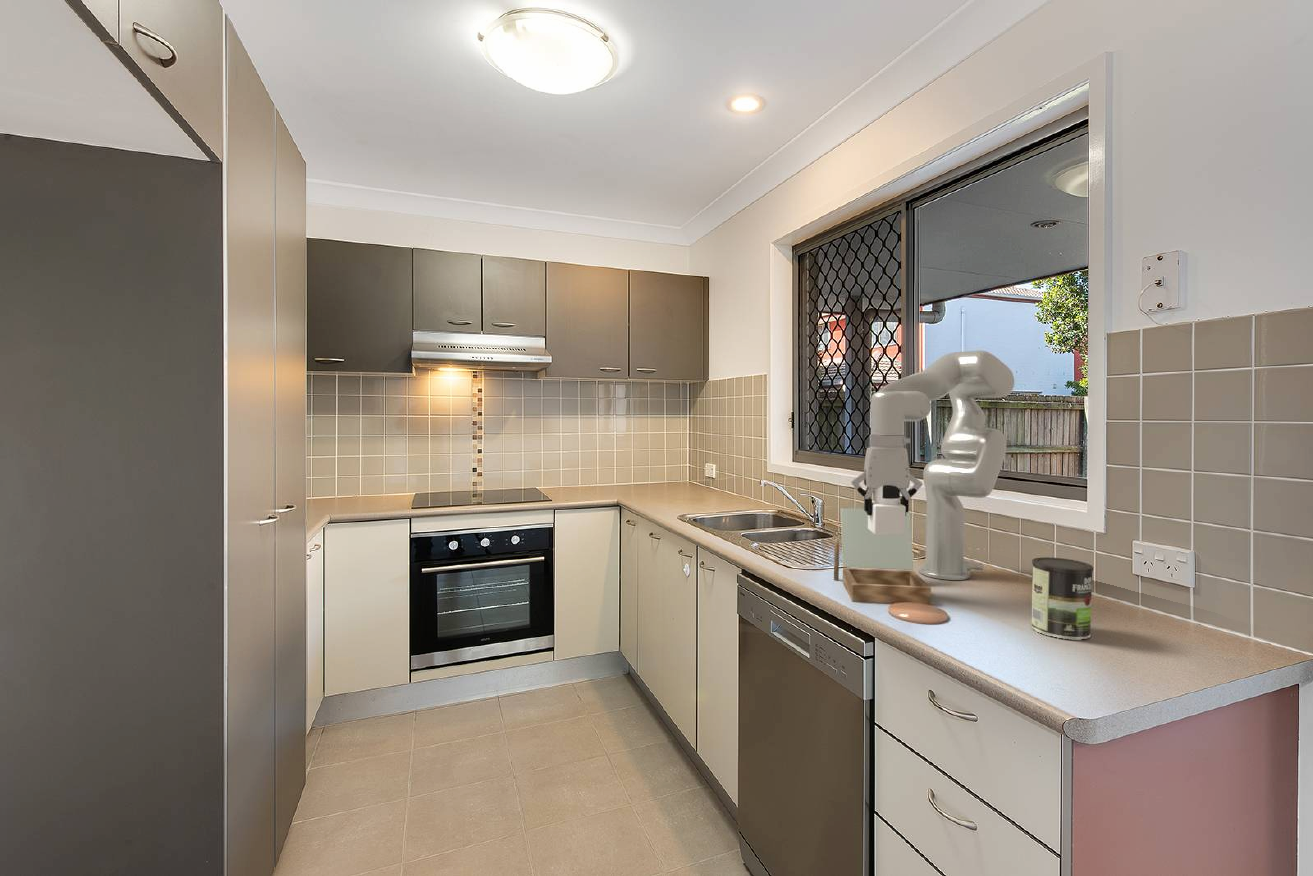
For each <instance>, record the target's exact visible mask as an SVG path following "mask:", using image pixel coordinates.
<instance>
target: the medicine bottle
mask: <svg viewBox="0 0 1313 876" xmlns="http://www.w3.org/2000/svg"><path fill="white" fill-rule="evenodd" d="M900 495H901V493H900V490H899V489H898V487H896V486H892V485H885V486H880V487H879V488H878V489H875V490H874V491H873V493H872V497H873V498H872V499H873V500H872V515H868V529H869V530H870V531H871V532H872V533H873V534H875V535H905V509H906V507H905V506H904V505H902V504H900V499H901V497H900Z"/></svg>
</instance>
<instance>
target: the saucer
mask: <svg viewBox="0 0 1313 876" xmlns="http://www.w3.org/2000/svg"><path fill="white" fill-rule="evenodd" d="M888 614H889V615H890V614H891V615H890V616H891V617H894V618H895V619H898V620H900V619H901V620H900V621H904V622H908V623H912V624H913V623H914V624H920V623H921V624H920V625H937V624H938V623H939V624H942V623H945V622H947V621H948V618H949V614H948V612H947V611H946V610H944V609H942V608H940V607H937V606H935V605H926V604H921V603H910V602H903V603H891V604H890V605H889V606H888ZM939 624H938V625H939Z"/></svg>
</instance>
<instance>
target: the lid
mask: <svg viewBox="0 0 1313 876" xmlns="http://www.w3.org/2000/svg"><path fill="white" fill-rule="evenodd" d="M910 511H911V510H909V511H908V512H906V516H905V535H875V534H873V533H872V532H871V531H870V530H869V529H868V514H867V511H864V508H846V507H845V508H844V507H841V508H840V509H839V512H840V513H839V515H840V522H841V523H840V529H841V530H840V531H841V533H840V534H841V554H842V556H841V558H842V559H841V560H842V563H841V564H842V568H856V569H881V570H905V571H914V557H913V542H912V528H911V526H912V525H911V513H910Z"/></svg>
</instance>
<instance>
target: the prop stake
mask: <svg viewBox="0 0 1313 876" xmlns="http://www.w3.org/2000/svg"><path fill="white" fill-rule="evenodd" d="M833 544H834V548H833V555H834V556H833V580H834V581H837V582H838V581H840V580H839V579H840V578H839V575H840V573H839V571H840V569H839V568H840V567H839V566H840V538H838V537H837V538H836V537H835V538H834V543H833Z"/></svg>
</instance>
